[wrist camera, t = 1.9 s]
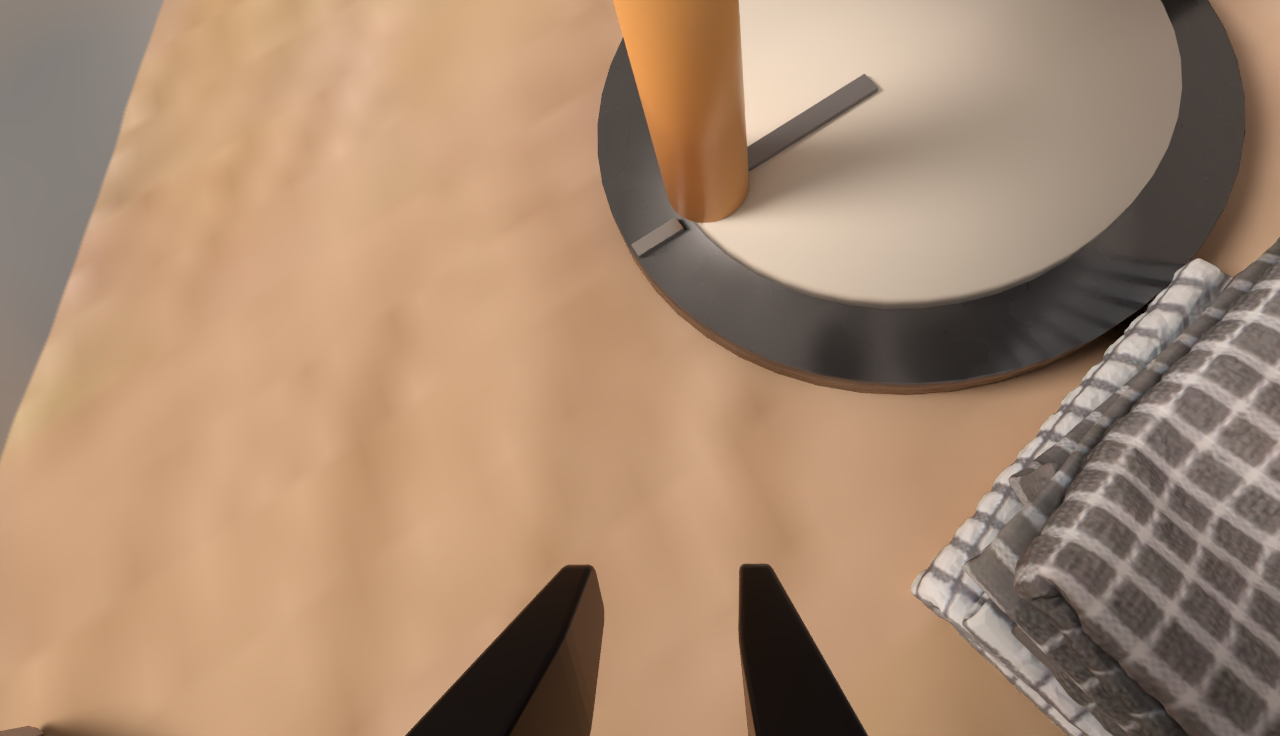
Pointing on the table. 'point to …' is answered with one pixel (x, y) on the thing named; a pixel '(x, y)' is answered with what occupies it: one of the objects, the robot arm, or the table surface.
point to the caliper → (22, 732)
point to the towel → (1142, 528)
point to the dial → (904, 134)
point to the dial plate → (951, 334)
